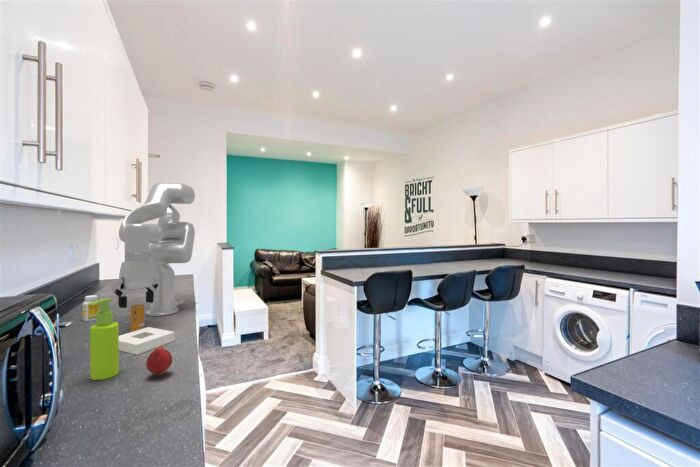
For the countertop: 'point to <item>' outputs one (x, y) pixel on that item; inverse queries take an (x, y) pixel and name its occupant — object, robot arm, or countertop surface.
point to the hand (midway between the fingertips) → (136, 304)
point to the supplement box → (137, 317)
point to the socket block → (144, 340)
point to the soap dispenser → (104, 343)
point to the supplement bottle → (90, 308)
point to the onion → (159, 361)
